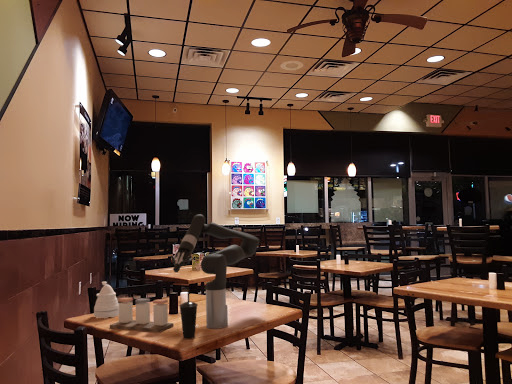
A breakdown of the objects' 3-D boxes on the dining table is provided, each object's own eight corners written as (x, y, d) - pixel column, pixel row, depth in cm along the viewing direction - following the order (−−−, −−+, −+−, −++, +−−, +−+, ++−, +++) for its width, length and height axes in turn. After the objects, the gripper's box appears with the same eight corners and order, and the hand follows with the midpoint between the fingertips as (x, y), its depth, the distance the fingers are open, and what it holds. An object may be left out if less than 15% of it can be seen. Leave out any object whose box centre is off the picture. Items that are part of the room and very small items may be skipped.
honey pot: (88, 317, 218) (88, 283, 220) (107, 312, 230) (107, 279, 231) (105, 319, 212) (105, 284, 214) (124, 314, 224) (124, 280, 225)
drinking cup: (199, 334, 178) (198, 287, 179) (197, 339, 170) (196, 290, 172) (181, 335, 178) (180, 288, 179) (178, 340, 170) (178, 291, 171)
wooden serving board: (173, 326, 194) (173, 323, 194) (159, 332, 183) (159, 329, 183) (125, 322, 204) (125, 319, 204) (109, 328, 194) (109, 324, 194)
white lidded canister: (167, 323, 192) (167, 299, 193) (162, 325, 188) (162, 301, 189) (158, 322, 194) (158, 299, 195) (153, 325, 190) (153, 300, 191)
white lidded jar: (150, 322, 196) (149, 298, 196) (144, 324, 192) (144, 300, 193) (141, 321, 198) (140, 298, 198) (135, 323, 194) (135, 299, 194)
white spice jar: (132, 320, 199) (132, 297, 200) (127, 322, 195) (127, 299, 196) (124, 320, 201) (124, 297, 202) (118, 322, 197) (118, 299, 198)
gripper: (201, 249, 218) (189, 276, 206) (179, 249, 223) (167, 275, 211) (196, 240, 214) (183, 266, 201) (174, 240, 219) (161, 266, 206)
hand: (175, 271), depth 206 cm, fingers closed
